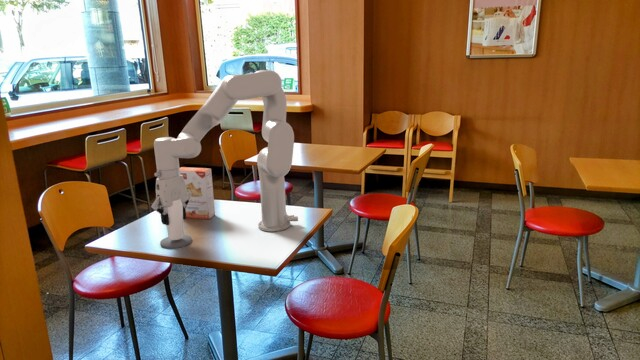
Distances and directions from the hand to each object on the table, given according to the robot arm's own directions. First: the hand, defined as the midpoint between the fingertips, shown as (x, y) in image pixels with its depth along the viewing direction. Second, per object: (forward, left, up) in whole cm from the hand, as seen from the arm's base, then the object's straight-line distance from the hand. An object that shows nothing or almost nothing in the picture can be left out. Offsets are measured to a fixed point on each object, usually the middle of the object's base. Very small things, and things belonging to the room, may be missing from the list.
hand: (174, 220), depth 159 cm
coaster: (0, 0, -8) cm, 8 cm away
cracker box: (-4, -28, -9) cm, 30 cm away
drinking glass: (0, 0, -7) cm, 7 cm away
